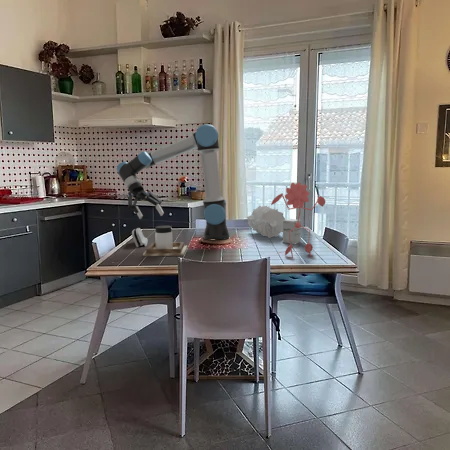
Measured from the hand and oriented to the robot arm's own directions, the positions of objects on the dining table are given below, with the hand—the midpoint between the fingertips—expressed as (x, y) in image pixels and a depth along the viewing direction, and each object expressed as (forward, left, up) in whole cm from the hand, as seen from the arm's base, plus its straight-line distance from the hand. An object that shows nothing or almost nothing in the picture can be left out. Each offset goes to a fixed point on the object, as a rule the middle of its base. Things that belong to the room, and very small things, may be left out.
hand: (152, 215), depth 227 cm
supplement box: (-75, -11, -18) cm, 77 cm away
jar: (-7, +8, -17) cm, 20 cm away
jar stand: (-8, +7, -18) cm, 20 cm away
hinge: (+10, -14, -18) cm, 25 cm away
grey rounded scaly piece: (-63, -34, -18) cm, 73 cm away
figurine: (-73, +18, -18) cm, 77 cm away
